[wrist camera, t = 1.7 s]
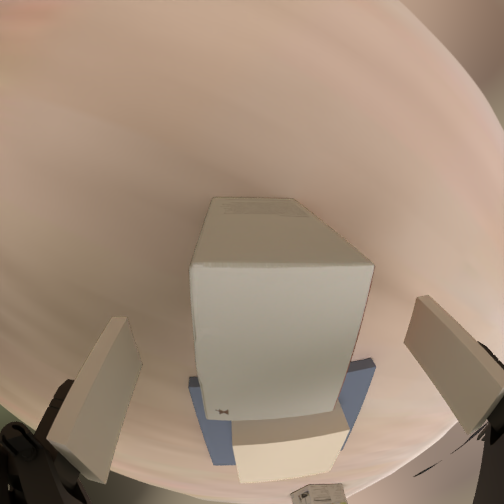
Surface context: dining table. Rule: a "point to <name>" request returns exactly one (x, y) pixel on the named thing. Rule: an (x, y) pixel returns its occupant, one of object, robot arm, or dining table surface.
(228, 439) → the build board
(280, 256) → the small box
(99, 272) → the dining table surface
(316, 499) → the light bulb box
